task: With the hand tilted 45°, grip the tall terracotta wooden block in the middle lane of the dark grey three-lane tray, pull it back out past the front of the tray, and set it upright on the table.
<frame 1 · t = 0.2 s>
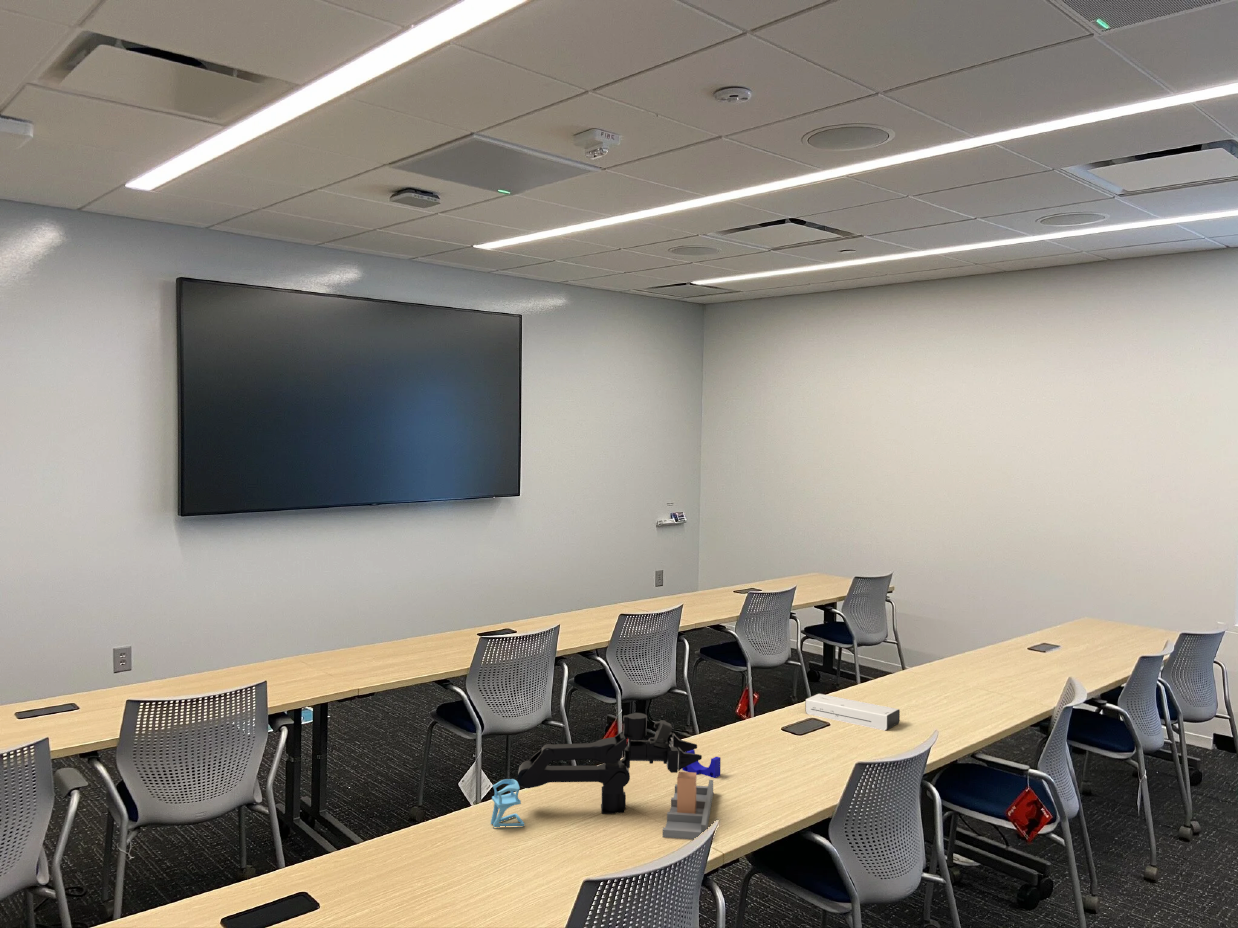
hand: (699, 751, 258), 17 cm above the table, tool horizontal, fingers open, 9 cm apart
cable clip: (701, 773, 287), on the table
laminator: (852, 719, 346), on the table
terracotta block: (686, 813, 253), resting on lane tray
chair: (506, 824, 247), on the table
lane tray: (689, 815, 253), on the table
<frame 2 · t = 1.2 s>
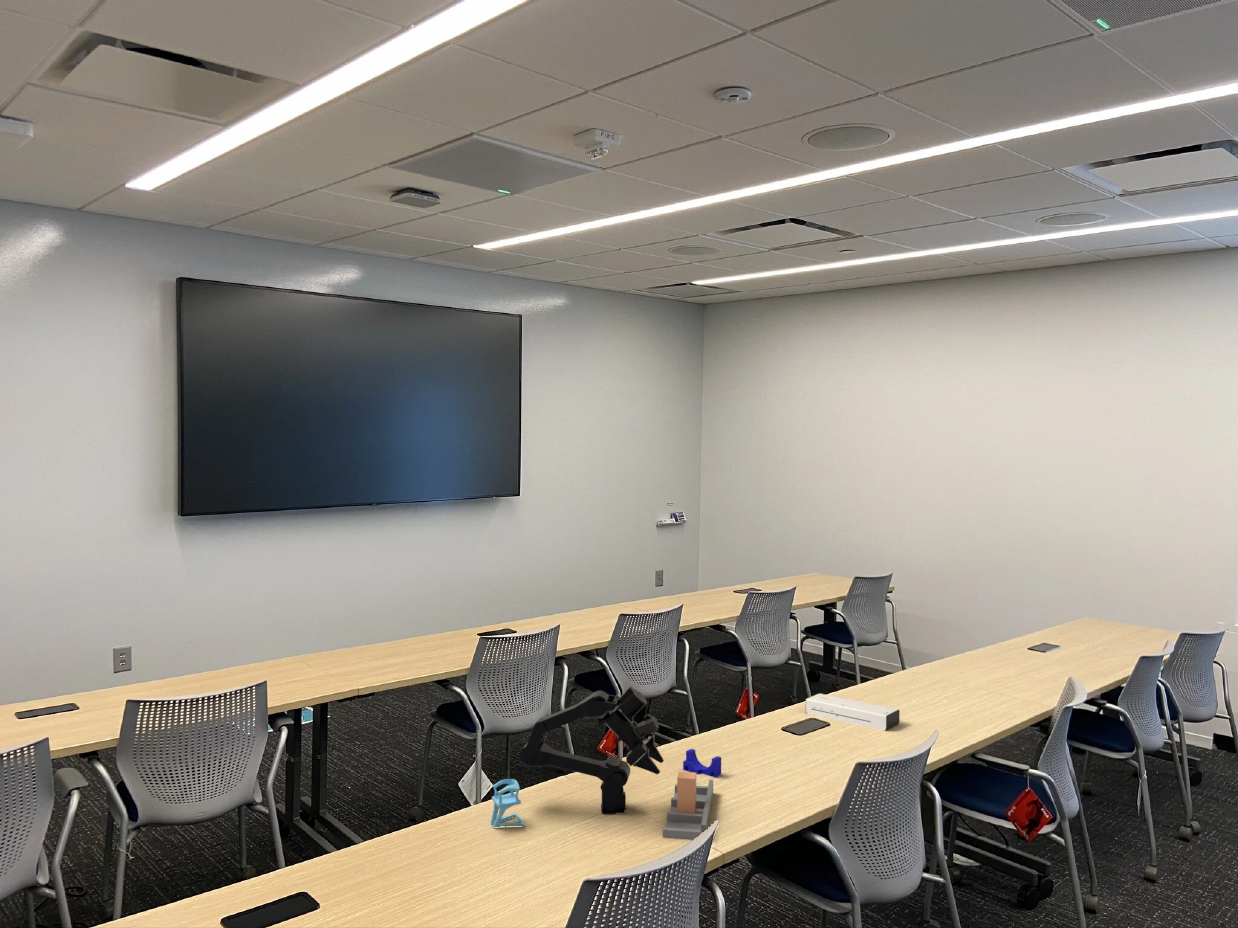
hand: (660, 767, 254), 13 cm above the table, tool tilted 45°, fingers open, 9 cm apart
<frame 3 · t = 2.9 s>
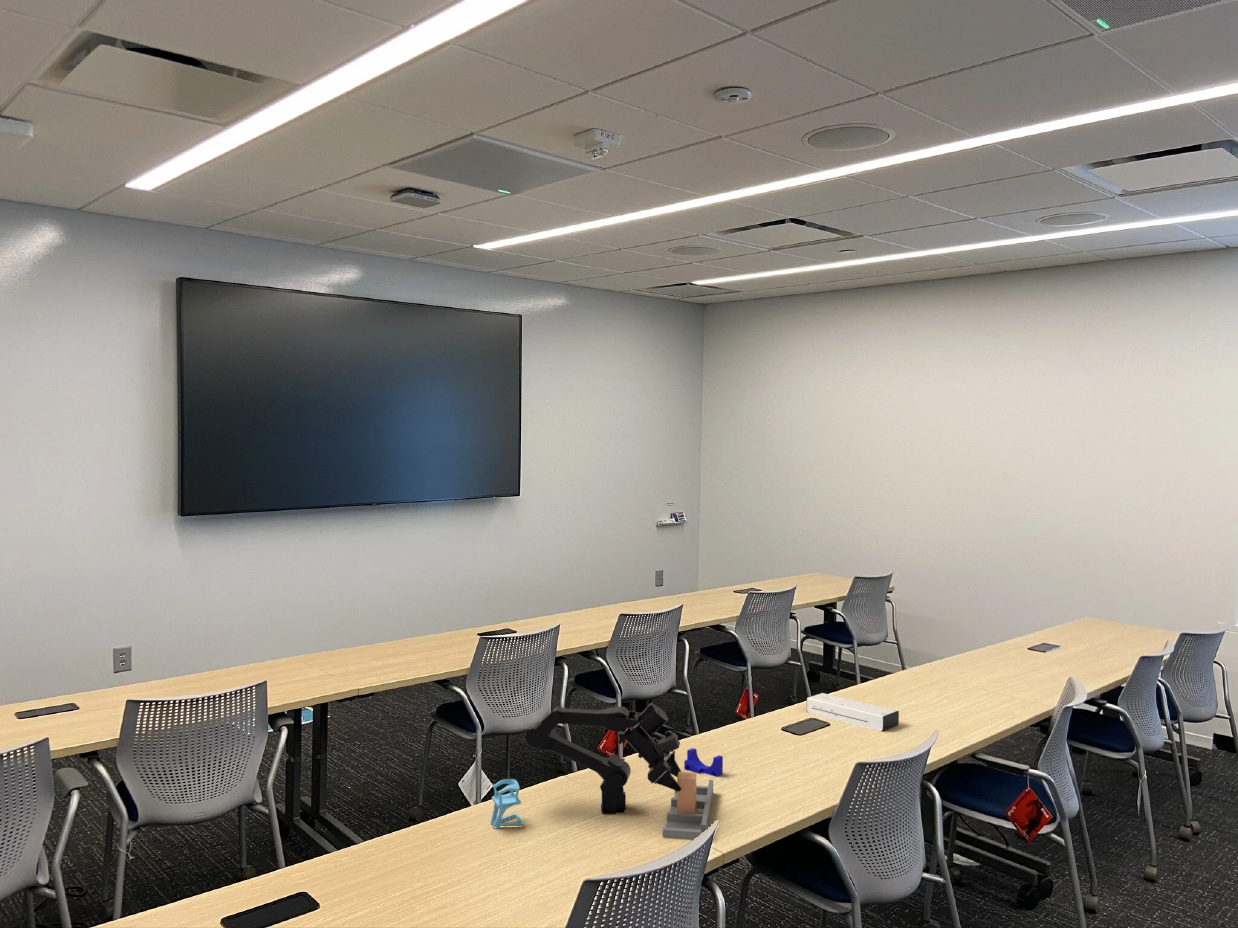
hand: (681, 784, 253), 9 cm above the table, tool tilted 45°, fingers open, 9 cm apart
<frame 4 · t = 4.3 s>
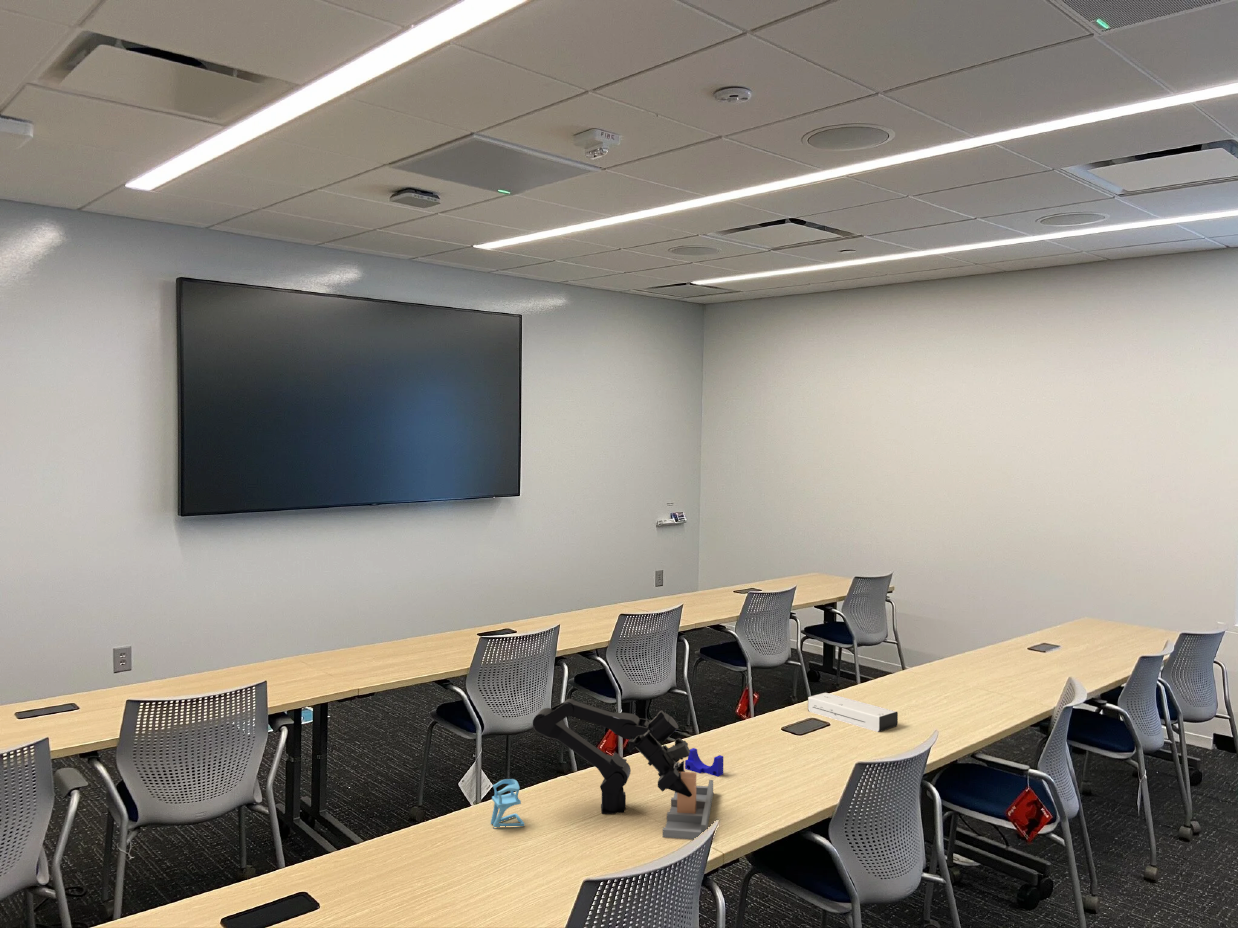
hand: (691, 792, 253), 7 cm above the table, tool tilted 45°, fingers closed on terracotta block, 5 cm apart
terracotta block: (686, 813, 253), resting on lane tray, touching gripper
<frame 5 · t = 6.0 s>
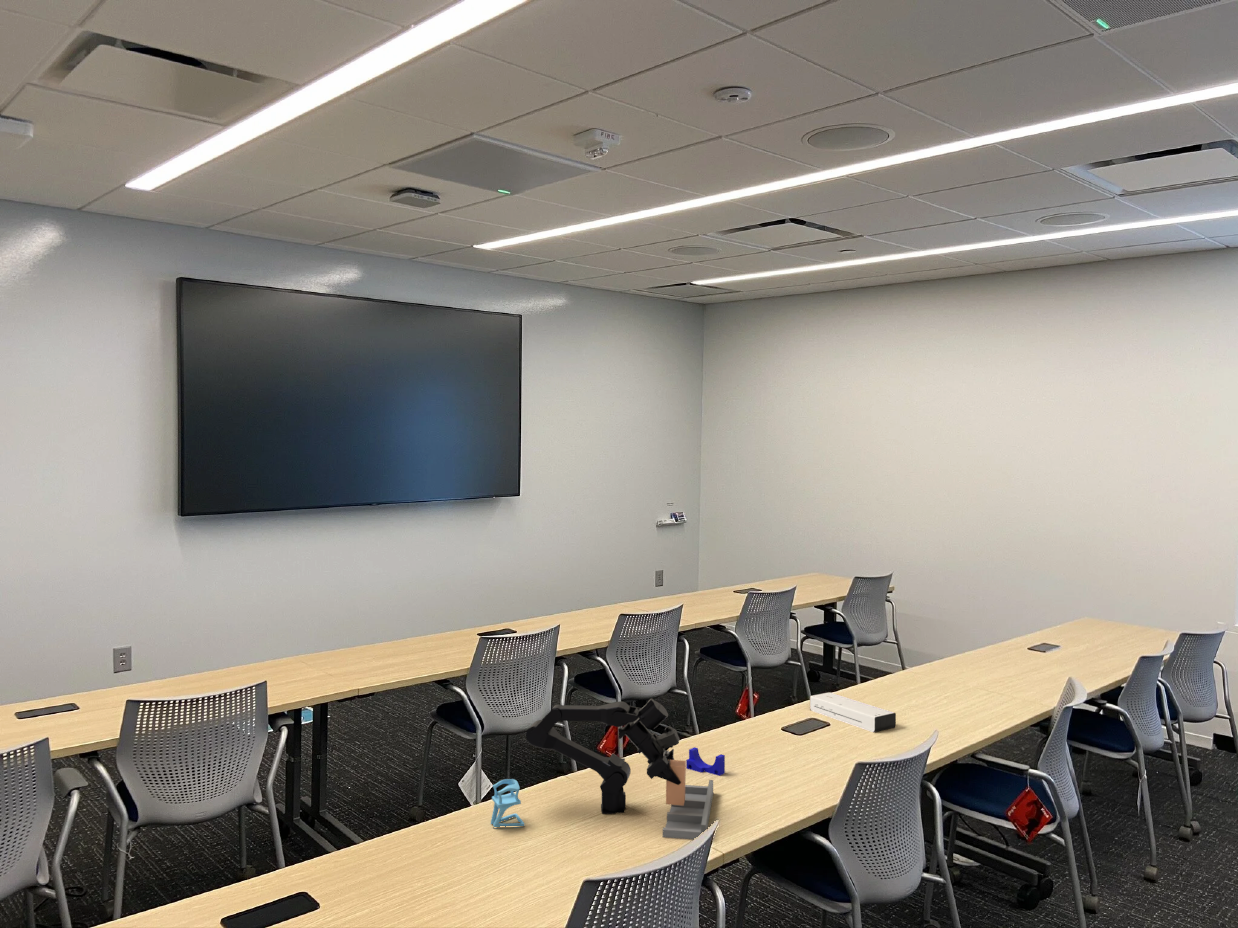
hand: (680, 780, 253), 10 cm above the table, tool tilted 45°, fingers closed on terracotta block, 5 cm apart
terracotta block: (675, 801, 254), point 4 cm above the table, touching gripper
when the fingers open (7 cm above the table, at t = 8.0 s): terracotta block stays where it is, on the table.
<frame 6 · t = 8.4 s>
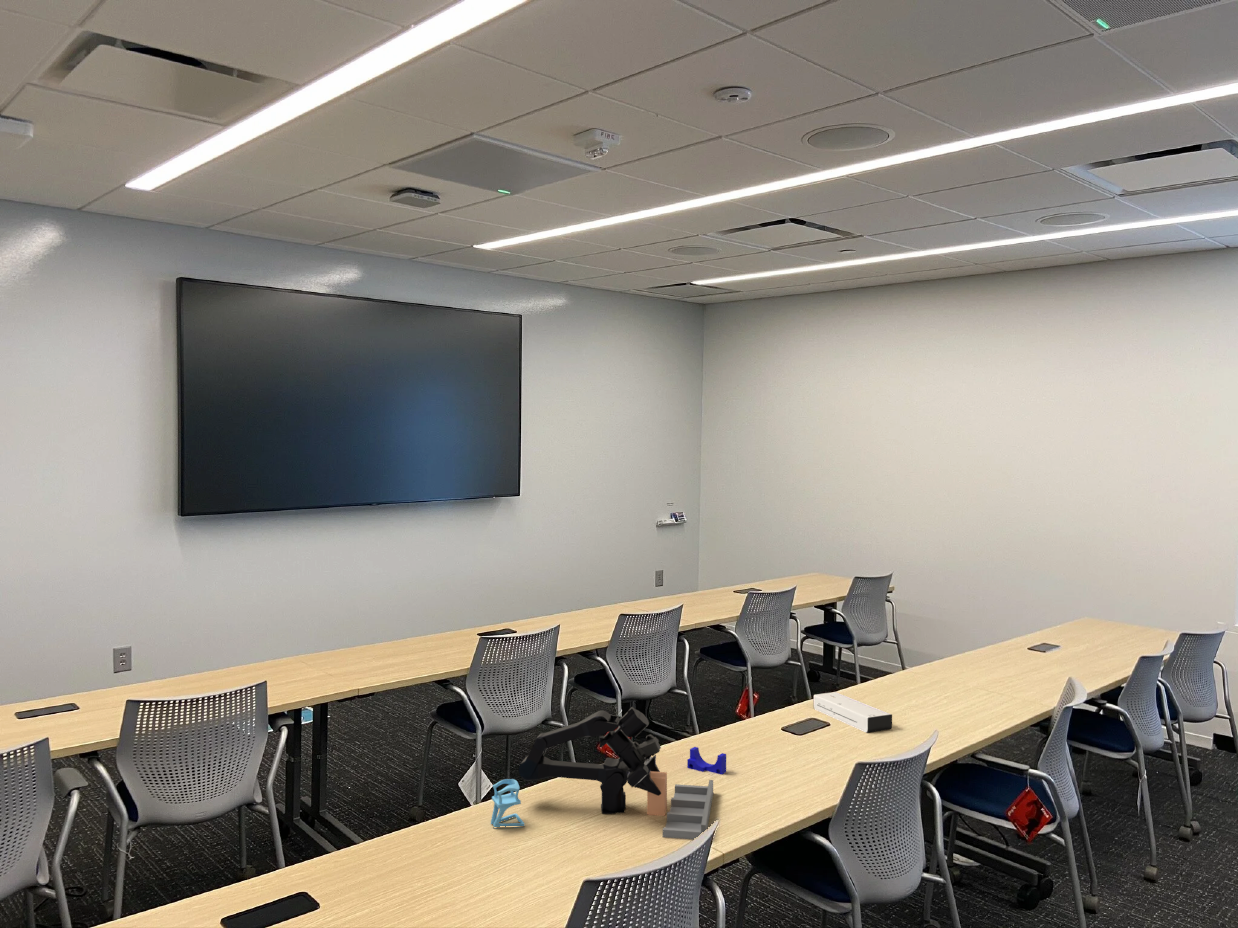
hand: (662, 788, 254), 7 cm above the table, tool tilted 45°, fingers open, 9 cm apart
terracotta block: (657, 812, 255), on the table
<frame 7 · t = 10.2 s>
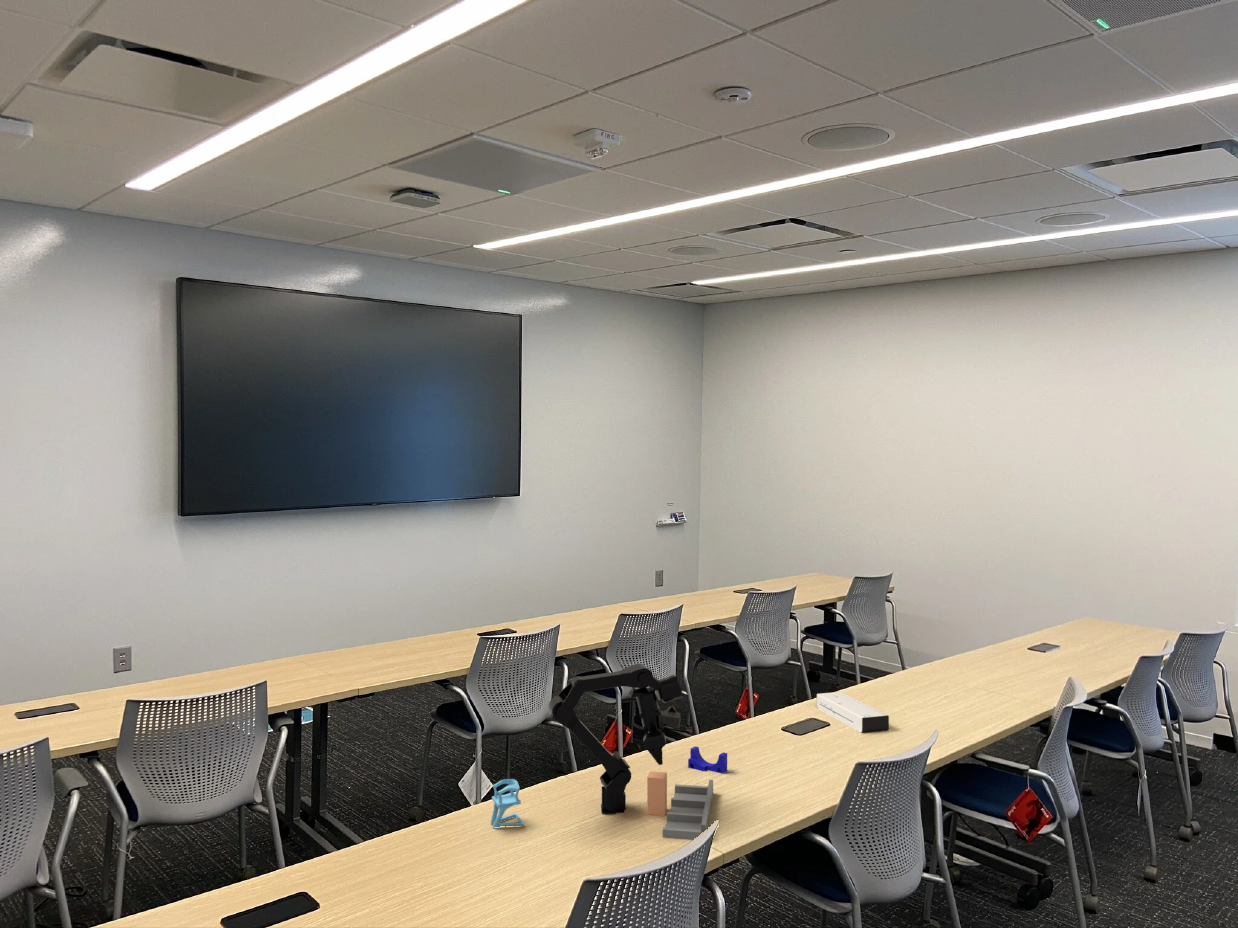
hand: (660, 758, 260), 14 cm above the table, tool pointing down, fingers open, 9 cm apart
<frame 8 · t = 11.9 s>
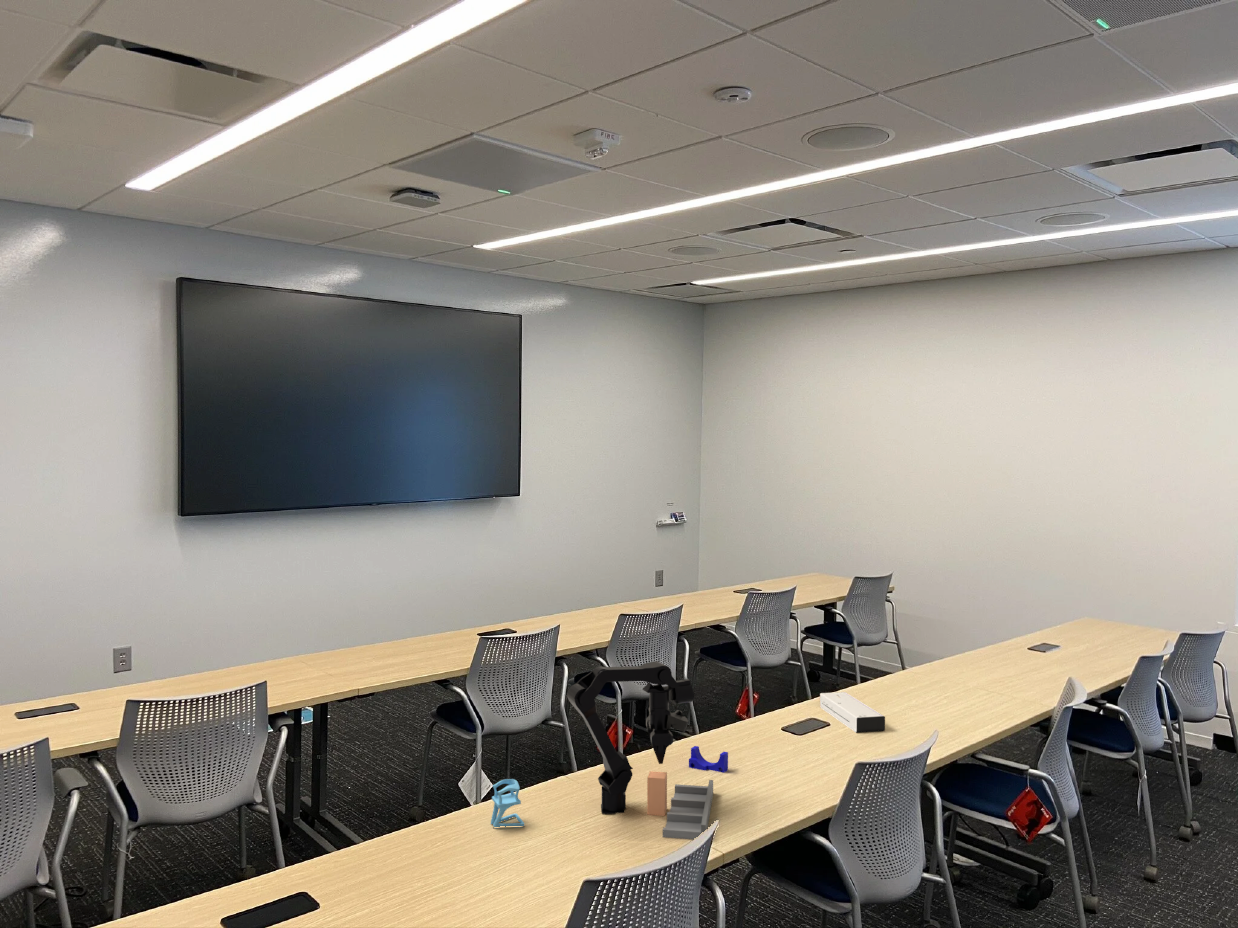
hand: (659, 758, 262), 13 cm above the table, tool pointing down, fingers open, 9 cm apart
at the end: terracotta block inside the target area (1.2 cm from its centre), on the table; terracotta block tilted 0°; the gripper is holding nothing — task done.
